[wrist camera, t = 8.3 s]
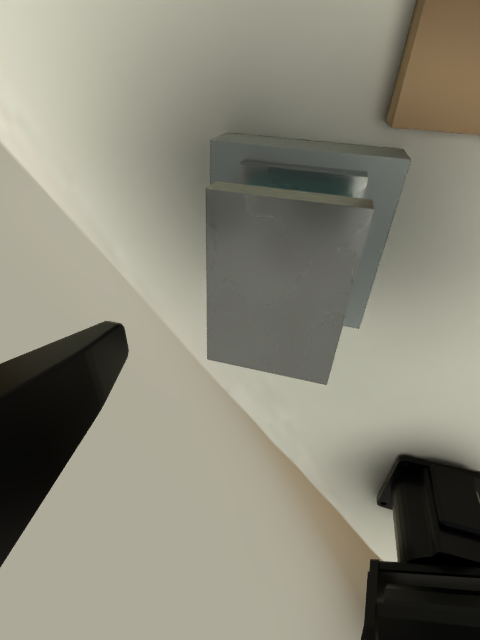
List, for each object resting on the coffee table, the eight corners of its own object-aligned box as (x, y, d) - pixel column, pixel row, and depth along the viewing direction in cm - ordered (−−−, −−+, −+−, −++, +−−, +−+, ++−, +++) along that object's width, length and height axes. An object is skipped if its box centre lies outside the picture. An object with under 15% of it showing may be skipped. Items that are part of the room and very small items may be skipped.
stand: (358, 303, 20) (359, 328, 18) (223, 280, 21) (210, 301, 19) (403, 149, 15) (411, 159, 13) (227, 132, 17) (210, 140, 15)
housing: (367, 171, 14) (374, 209, 10) (331, 316, 18) (326, 384, 14) (244, 159, 15) (205, 188, 11) (237, 299, 19) (207, 359, 15)
